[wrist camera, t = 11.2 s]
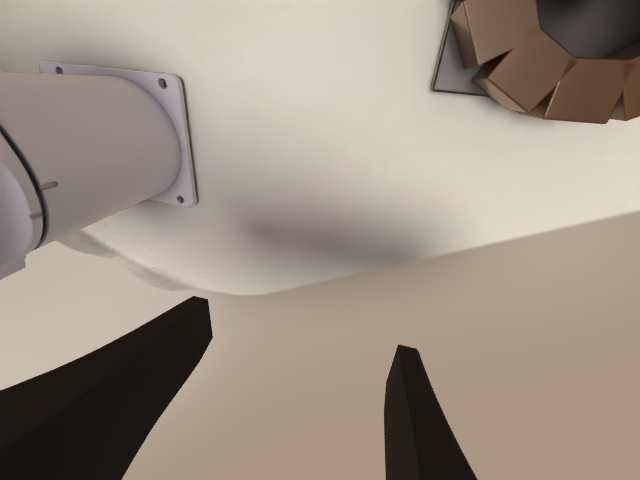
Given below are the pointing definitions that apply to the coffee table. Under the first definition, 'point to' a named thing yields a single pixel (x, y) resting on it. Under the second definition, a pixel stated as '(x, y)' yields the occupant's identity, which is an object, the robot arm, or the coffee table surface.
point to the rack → (560, 23)
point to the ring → (543, 66)
